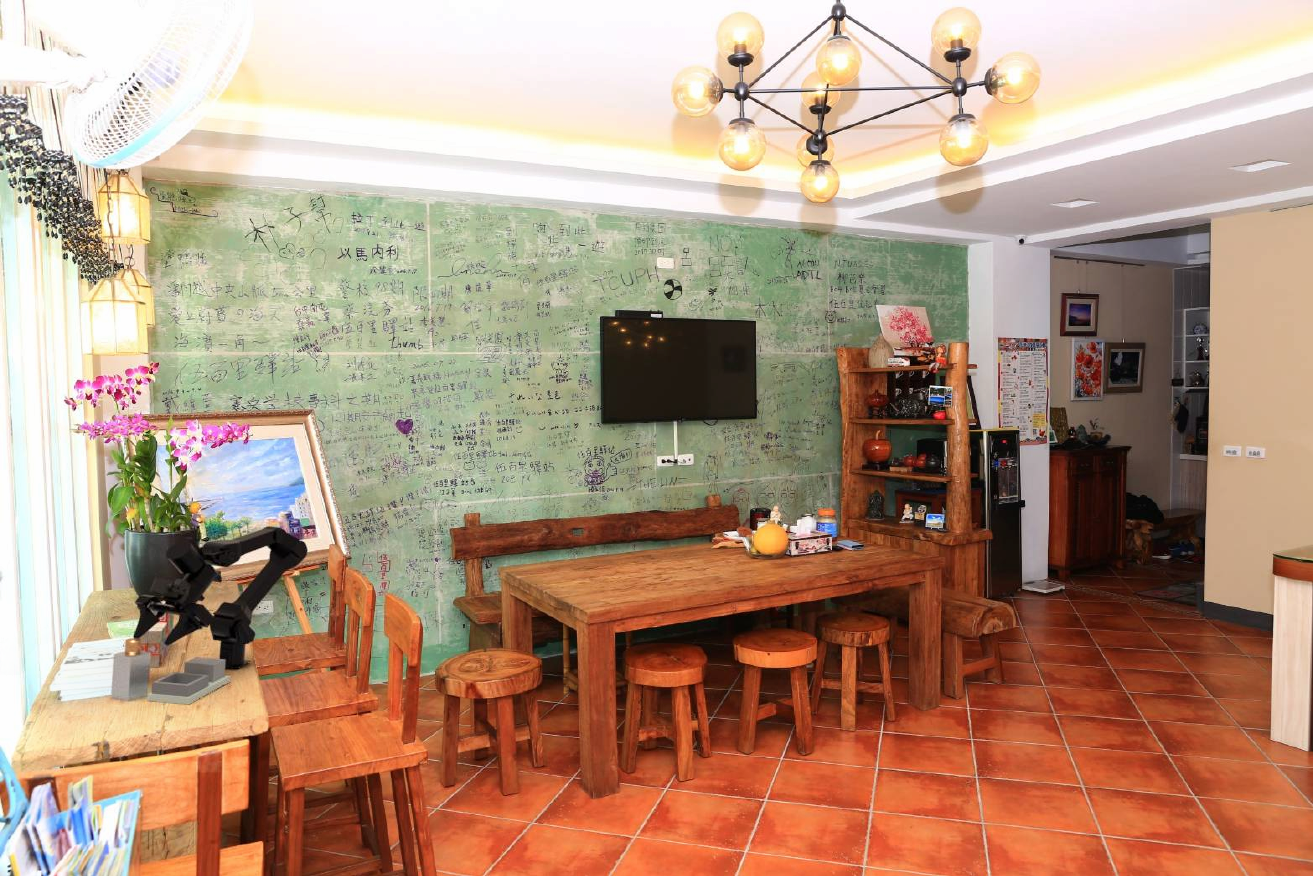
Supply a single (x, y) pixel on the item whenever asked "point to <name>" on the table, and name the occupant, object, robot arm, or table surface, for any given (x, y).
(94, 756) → the table surface
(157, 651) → the stack of blocks
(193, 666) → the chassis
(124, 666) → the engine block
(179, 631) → the robot arm
